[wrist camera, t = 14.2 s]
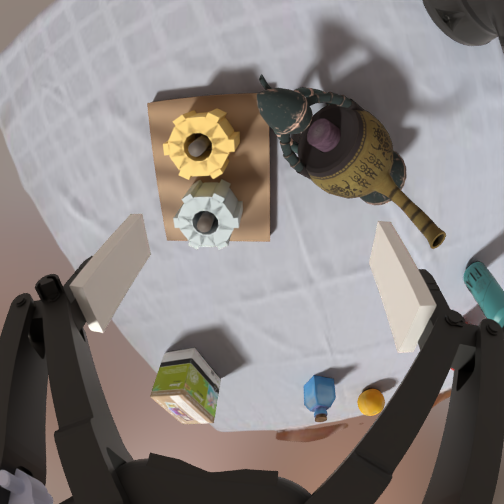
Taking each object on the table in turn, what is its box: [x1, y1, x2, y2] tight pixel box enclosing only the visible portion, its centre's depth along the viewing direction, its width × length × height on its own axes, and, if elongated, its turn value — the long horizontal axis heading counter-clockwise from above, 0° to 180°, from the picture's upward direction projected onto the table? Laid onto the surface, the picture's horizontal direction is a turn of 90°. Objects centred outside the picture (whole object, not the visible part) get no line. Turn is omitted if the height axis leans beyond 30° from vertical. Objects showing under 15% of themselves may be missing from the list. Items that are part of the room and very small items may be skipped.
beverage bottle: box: [464, 262, 504, 332], centre depth 43 cm, size 6×7×20 cm
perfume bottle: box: [304, 375, 336, 422], centre depth 70 cm, size 6×6×12 cm
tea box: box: [150, 348, 221, 424], centre depth 68 cm, size 15×10×15 cm, turn 23°
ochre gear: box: [163, 108, 240, 180], centre depth 39 cm, size 10×9×6 cm
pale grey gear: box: [173, 179, 243, 250], centre depth 45 cm, size 10×9×6 cm
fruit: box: [358, 389, 385, 416], centre depth 74 cm, size 9×8×8 cm
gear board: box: [147, 93, 270, 242], centre depth 42 cm, size 24×18×9 cm
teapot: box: [257, 75, 446, 249], centre depth 31 cm, size 12×25×23 cm
